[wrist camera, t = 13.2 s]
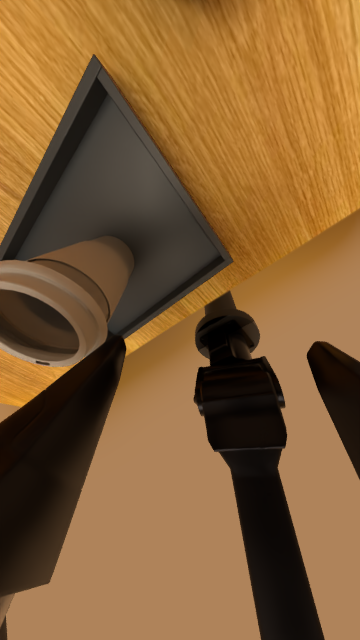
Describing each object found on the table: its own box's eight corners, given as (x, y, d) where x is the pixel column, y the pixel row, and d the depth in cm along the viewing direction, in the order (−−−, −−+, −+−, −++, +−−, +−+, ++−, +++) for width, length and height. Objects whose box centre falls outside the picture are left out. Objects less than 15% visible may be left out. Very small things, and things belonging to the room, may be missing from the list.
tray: (229, 253, 18) (233, 261, 16) (117, 336, 27) (110, 349, 25) (110, 75, 12) (93, 52, 10) (11, 257, 20) (-10, 265, 18)
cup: (82, 280, 21) (-14, 359, 11) (74, 215, 17) (-88, 253, 7) (143, 293, 21) (101, 380, 12) (148, 233, 17) (92, 291, 8)
